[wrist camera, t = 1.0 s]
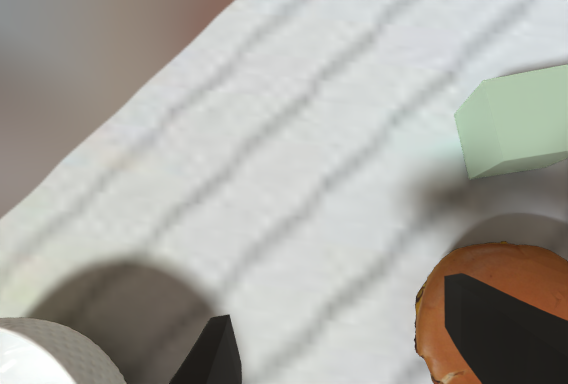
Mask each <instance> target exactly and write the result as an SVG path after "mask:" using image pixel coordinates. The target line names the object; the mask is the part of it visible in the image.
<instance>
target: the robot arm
mask: <svg viewBox="0 0 568 384" xmlns="http://www.w3.org/2000/svg"><path fill="white" fill-rule="evenodd" d="M444 312H445V328H446V330H447V332H448V334H449V335H450V337H451V339H452V341H453V343H454V344H455V346H456V348H457V349H458V351H459V353H460V354H461V356H462V357H463V359H464V360H465V361H466V363H467V364H468V366H469V367H470V368H471V370H472V371H473V372H474V374H475V375H476V376H477V378H478V379H479V380H480V382H481V383H482V384H568V321H567V320H565V319H562V318H560V317H558V316H555V315H553V314H550V313H548V312H546V311H543V310H541V309H539V308H537V307H534V306H532V305H530V304H528V303H526V302H523V301H521V300H519V299H517V298H515V297H513V296H511V295H509V294H506V293H504V292H502V291H500V290H498V289H496V288H494V287H492V286H490V285H488V284H486V283H484V282H482V281H479V280H477V279H475V278H473V277H471V276H469V275H466V274H464V273H459V274H453V275H448V276H444ZM169 384H242V372H241V360H240V356H239V352H238V348H237V344H236V340H235V336H234V331H233V327H232V323H231V319H230V315H224V316H218V317H212V318H210V320H209V321H208V323H207V324H206V326H205V328H204V329H203V331H202V333H201V335H200V336H199V338H198V340H197V341H196V343H195V345H194V346H193V348H192V350H191V351H190V353H189V354H188V356H187V357H186V359H185V361H184V362H183V364H182V365H181V367H180V368H179V370H178V371H177V373H176V374H175V376H174V377H173V378H172V380H171V381H170V383H169Z"/></svg>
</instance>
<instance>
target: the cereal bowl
mask: <svg viewBox="0 0 568 384" xmlns="http://www.w3.org/2000/svg"><path fill="white" fill-rule="evenodd" d="M0 384H127V383H126V382H125V380H124V377H123V375H122V374H121V373H120V372H119V368H118V367H116V366H115V364H114V363H113V362H112V361H111V359H110V357H109V356H108V355H106V353H105V352H104V351H103V350H101V349H100V347H99V346H98V345H96V344H94V342H92V340H90V339H88V337H86V336H84V335H82V334H81V333H79V332H78V331H75V330H72V329H71V328H70V327H67V326H64V325H61V324H58V323H56V322H50V321H47V320H40V319H35V318H23V317H19V318H0Z"/></svg>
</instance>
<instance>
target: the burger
mask: <svg viewBox="0 0 568 384" xmlns="http://www.w3.org/2000/svg"><path fill="white" fill-rule="evenodd" d="M459 273H464V274H466V275H469V276H471V277H473V278H475V279H477V280H479V281H482V282H484V283H486V284H488V285H490V286H492V287H494V288H496V289H498V290H500V291H502V292H504V293H506V294H509V295H511V296H513V297H515V298H517V299H519V300H521V301H523V302H526V303H528V304H530V305H532V306H534V307H537V308H539V309H541V310H543V311H546V312H548V313H550V314H553V315H555V316H558V317H560V318H562V319H565V320H567V321H568V261H567V260H565V259H563V258H562V257H560V256H559V255H557V254H555V253H554V252H552V251H550V250H547V249H544V248H541V247H538V246H531V245H514V244H509V243H507V242H506V241H501V242H500V243H485V244H475V245H470V246H466V247H463V248H458V249H455V250H454V251H452V252H451V253H450V254H448V255H447V256H445V257H444V258H443V259H442V260H441V261H440V262H439V263H438V264H437V265H436V266H435V267H434V269H433V271H432V273H431V274H430V275H429V276H428V277H427V281H426V282H425V283H424V285H423V286H422V288H421V289H420V290H419V292H418V294H417V296H416V304H415V309H416V321H415V328H416V331H415V333H416V335H415V339H414V341H415V350H416V353H418V354H419V356H421V357H422V358H423V359H424V360H425V362H426V364H427V366H428V368H429V371H430V373H431V374H430V375H431V379H432V381H433V383H434V384H482V383H481V382H480V380H479V379H478V378H477V376H476V375H475V374H474V372H473V371H472V370H471V368H470V367H469V366H468V364H467V363H466V361H465V360H464V359H463V357H462V356H461V354H460V353H459V351H458V349H457V348H456V346H455V344H454V343H453V341H452V339H451V337H450V335H449V334H448V332H447V330H446V328H445V312H444V276H448V275H453V274H459Z"/></svg>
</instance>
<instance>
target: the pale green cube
mask: <svg viewBox="0 0 568 384" xmlns="http://www.w3.org/2000/svg"><path fill="white" fill-rule="evenodd" d="M454 117H455V122H456V126H457V130H458V134H459V138H460V143H461V147H462V151H463V155H464V160H465V164H466V168H467V172H468V176H469V180H470V179H476V178H482V177H489V176H495V175H501V174H508V173H514V172H521V171H527V170H533V169H540V168H545V167H547V166H550V165H552V164H555V163H557V162H560V161H562V160H565V159H567V158H568V64H566V65H561V66H556V67H550V68H545V69H540V70H535V71H529V72H524V73H519V74H513V75H508V76H503V77H498V78H492V79H487V80H483V81H482V82H481V83H480V85H479V86H478V87H477V88H476V89H475V90H474V92H473V93H472V94H471V95H470V96H469V97H468V99H467V100H466V101H465V102H464V103H463V104H462V106H461V107H460V108H459V109H458V110H457V111H456V113H455V114H454Z"/></svg>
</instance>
